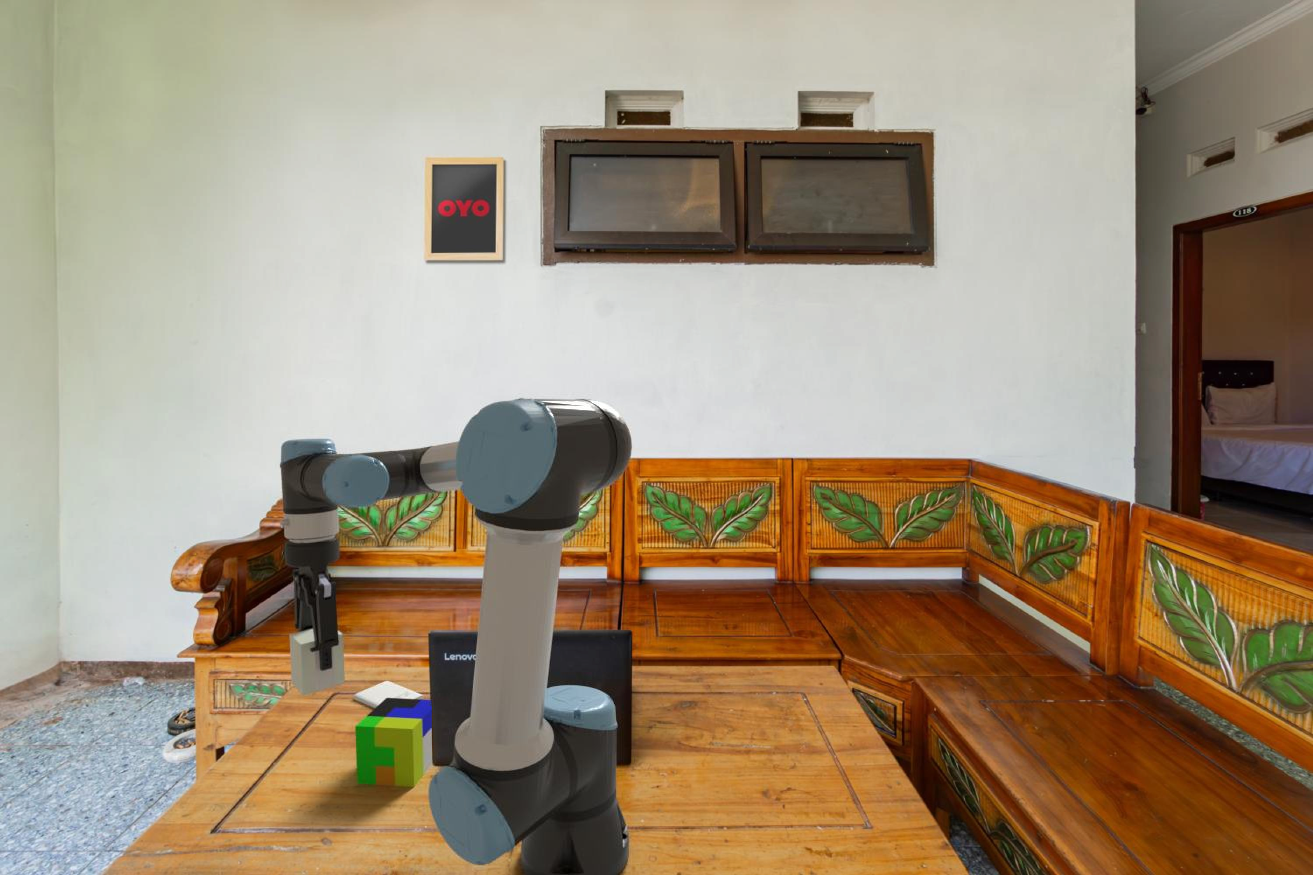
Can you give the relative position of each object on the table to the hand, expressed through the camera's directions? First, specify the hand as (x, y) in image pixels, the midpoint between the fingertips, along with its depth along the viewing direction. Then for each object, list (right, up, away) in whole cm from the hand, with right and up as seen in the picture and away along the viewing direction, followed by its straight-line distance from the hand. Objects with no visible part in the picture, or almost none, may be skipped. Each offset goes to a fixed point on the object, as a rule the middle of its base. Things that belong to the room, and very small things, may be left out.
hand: (317, 681), depth 100 cm
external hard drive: (-4, -18, +35) cm, 40 cm away
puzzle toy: (+9, -19, +10) cm, 24 cm away
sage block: (0, 0, 0) cm, 0 cm away
